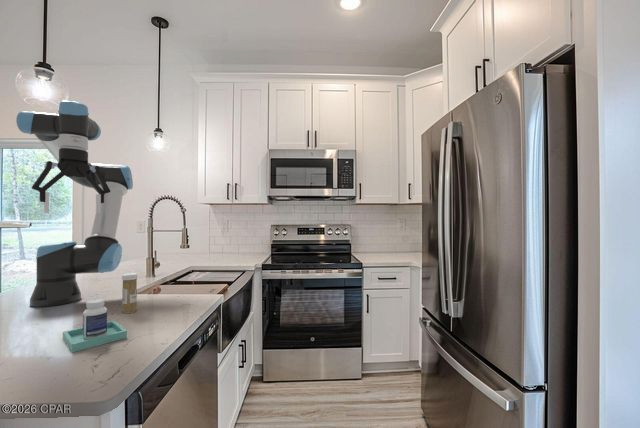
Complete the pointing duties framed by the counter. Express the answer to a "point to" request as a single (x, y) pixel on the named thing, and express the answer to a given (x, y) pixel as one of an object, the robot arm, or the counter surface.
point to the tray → (79, 343)
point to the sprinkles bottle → (129, 292)
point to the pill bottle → (95, 319)
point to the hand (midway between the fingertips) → (73, 212)
